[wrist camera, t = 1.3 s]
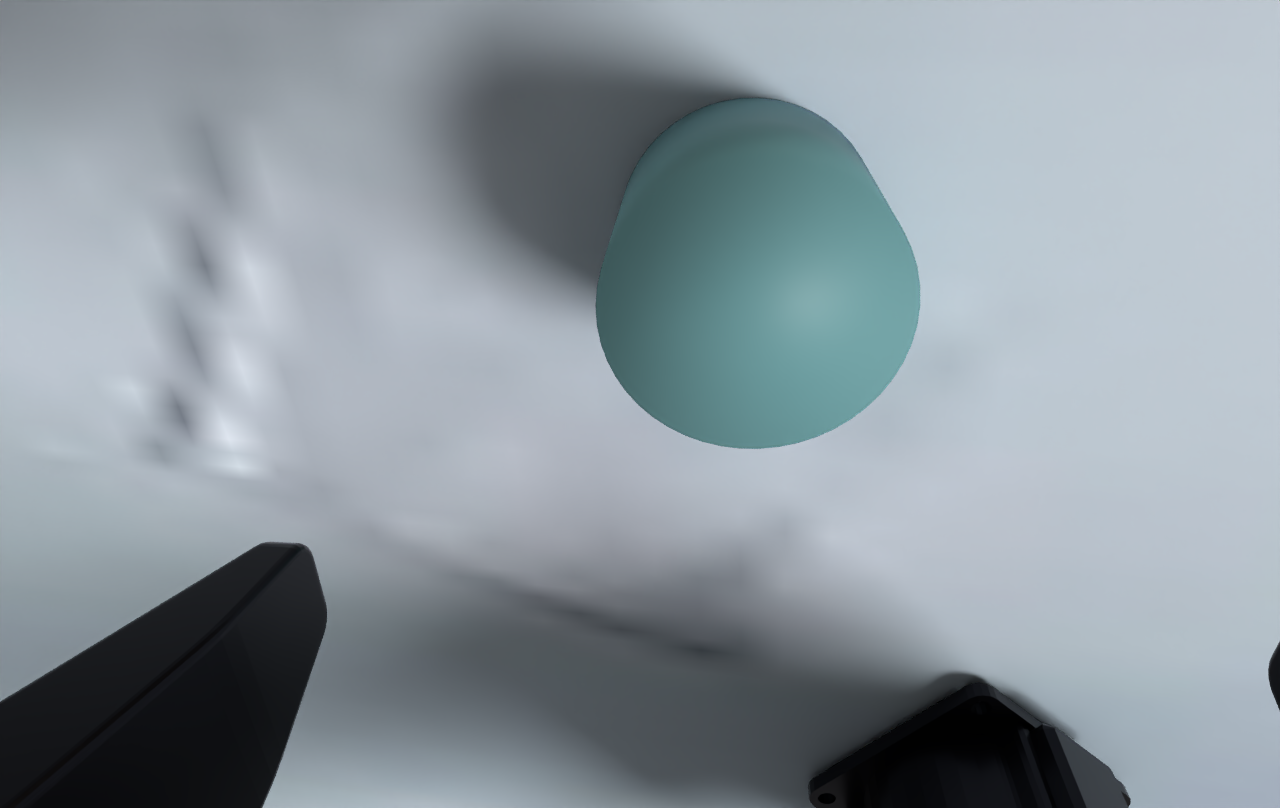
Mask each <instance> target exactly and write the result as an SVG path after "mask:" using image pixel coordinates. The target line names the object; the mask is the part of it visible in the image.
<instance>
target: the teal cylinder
mask: <svg viewBox="0 0 1280 808" xmlns="http://www.w3.org/2000/svg"><path fill="white" fill-rule="evenodd" d="M919 310H920V282H919V275H918V269H917V264H916V261H915V258H914V254H913V251H912V248H911V246H910V243H909V241H908V239H907V237H906V235H905V233H904V231H903V229H902V227H901V225H900V224H899V222H898V220H897V219H896V217H895V215H894V213H893V212H892V210H891V208H890V206H889V205H888V203H887V201H886V200H885V198H884V196H883V194H882V193H881V191H880V189H879V188H878V186H877V184H876V182H875V181H874V179H873V177H872V175H871V174H870V172H869V170H868V169H867V167H866V165H865V163H864V162H863V160H862V158H861V157H860V155H859V154H858V152H857V151H856V149H855V148H854V146H853V145H852V144H851V143H850V141H849V140H848V139H847V138H846V137H845V136H844V135H843V134H842V133H841V132H840V131H839V130H838V129H837V128H836V127H834V126H833V125H832V124H831V123H829V122H828V121H827V120H825V119H824V118H822V117H820V116H819V115H817V114H815V113H814V112H812V111H810V110H807V109H805V108H803V107H800V106H798V105H795V104H792V103H788V102H784V101H780V100H774V99H766V98H739V99H733V100H727V101H722V102H718V103H715V104H712V105H708V106H705V107H703V108H701V109H699V110H697V111H694V112H692V113H690V114H688V115H687V116H685V117H683V118H682V119H680V120H679V121H677V122H675V123H674V124H673V125H671V126H670V127H669V128H668V129H667V130H665V131H664V132H663V133H662V134H661V135H660V136H659V137H658V138H657V139H656V140H655V141H654V142H653V143H652V144H651V145H650V146H649V147H648V149H647V150H646V152H645V153H644V154H643V156H642V157H641V159H640V160H639V162H638V164H637V165H636V167H635V169H634V171H633V173H632V175H631V177H630V180H629V183H628V185H627V188H626V191H625V194H624V197H623V200H622V203H621V206H620V210H619V213H618V216H617V219H616V222H615V226H614V229H613V232H612V235H611V238H610V242H609V245H608V248H607V251H606V254H605V258H604V261H603V264H602V267H601V271H600V276H599V281H598V285H597V295H596V318H597V328H598V332H599V337H600V342H601V345H602V348H603V351H604V353H605V356H606V359H607V361H608V363H609V365H610V367H611V369H612V371H613V373H614V375H615V377H616V378H617V379H618V381H619V382H620V384H621V385H622V386H623V388H624V389H625V391H626V392H627V393H628V394H629V395H630V396H631V397H632V398H633V400H634V401H635V402H636V403H637V404H638V405H639V406H640V407H642V408H643V409H644V410H645V411H646V412H647V413H649V414H650V415H651V416H652V417H654V418H655V419H657V420H658V421H660V422H661V423H663V424H664V425H666V426H667V427H669V428H671V429H673V430H675V431H677V432H679V433H681V434H683V435H685V436H688V437H691V438H694V439H697V440H699V441H702V442H706V443H710V444H714V445H719V446H725V447H733V448H747V449H761V448H772V447H780V446H785V445H790V444H795V443H799V442H802V441H805V440H808V439H812V438H815V437H817V436H820V435H822V434H824V433H826V432H829V431H831V430H833V429H835V428H837V427H838V426H840V425H842V424H843V423H845V422H847V421H849V420H850V419H852V418H853V417H854V416H856V415H857V414H858V413H860V412H861V411H862V410H864V409H865V408H866V407H867V406H868V405H870V404H871V403H872V402H873V401H874V400H875V399H876V398H877V397H878V396H879V395H880V394H881V393H882V392H883V390H884V389H885V388H886V387H887V385H888V384H889V383H890V382H891V381H892V379H893V378H894V376H895V375H896V373H897V372H898V370H899V368H900V367H901V365H902V364H903V362H904V360H905V358H906V355H907V353H908V351H909V349H910V346H911V344H912V341H913V338H914V334H915V331H916V328H917V323H918V316H919Z"/></svg>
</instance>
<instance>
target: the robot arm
mask: <svg viewBox="0 0 1280 808" xmlns="http://www.w3.org/2000/svg"><path fill="white" fill-rule="evenodd" d="M326 623H327V608H326V602H325V599H324V595H323V591H322V588H321V584H320V580H319V576H318V573H317V569H316V565H315V562H314V558H313V555H312V553H311V551H310V550H309V548H308V547H307V546H305V545H303V544H300V543H283V542H265V543H261V544H259V545H257V546H255V547H254V548H252V549H250V550H249V551H247V552H245V553H244V554H242V555H241V556H239V557H237V558H236V559H234V560H232V561H231V562H229V563H227V564H226V565H224V566H223V567H221V568H219V569H218V570H216V571H214V572H213V573H211V574H209V575H208V576H206V577H204V578H203V579H201V580H200V581H198V582H196V583H195V584H193V585H191V586H190V587H188V588H186V589H185V590H183V591H181V592H180V593H178V594H177V595H175V596H173V597H172V598H170V599H168V600H167V601H165V602H163V603H162V604H160V605H158V606H157V607H155V608H154V609H152V610H150V611H149V612H147V613H145V614H144V615H142V616H140V617H139V618H137V619H135V620H134V621H132V622H131V623H129V624H127V625H126V626H124V627H122V628H121V629H119V630H117V631H116V632H114V633H112V634H111V635H109V636H108V637H106V638H104V639H103V640H101V641H99V642H98V643H96V644H94V645H93V646H91V647H90V648H88V649H86V650H85V651H83V652H81V653H80V654H78V655H76V656H75V657H73V658H71V659H70V660H68V661H67V662H65V663H63V664H62V665H60V666H58V667H57V668H55V669H53V670H52V671H50V672H48V673H47V674H45V675H44V676H42V677H40V678H39V679H37V680H35V681H34V682H32V683H30V684H29V685H27V686H25V687H24V688H22V689H20V690H19V691H17V692H16V693H14V694H12V695H11V696H9V697H7V698H6V699H4V700H2V701H1V702H0V808H262V807H263V804H264V802H265V800H266V797H267V795H268V793H269V791H270V788H271V786H272V784H273V781H274V779H275V776H276V773H277V770H278V768H279V765H280V762H281V760H282V757H283V754H284V751H285V748H286V745H287V742H288V739H289V736H290V733H291V730H292V727H293V724H294V721H295V718H296V716H297V713H298V710H299V707H300V704H301V701H302V698H303V695H304V692H305V689H306V686H307V683H308V680H309V677H310V674H311V671H312V668H313V665H314V662H315V659H316V656H317V653H318V650H319V647H320V644H321V641H322V638H323V635H324V632H325V628H326ZM1268 671H1269V682H1270V687H1271V690H1272V693H1273V695H1274V698H1275V700H1276V703H1277V705H1278V708H1279V710H1280V642H1279V644H1278V645H1277V647H1276V649H1275V651H1274V653H1273V655H1272V657H1271V659H1270V663H1269V669H1268ZM808 790H809V799H810V802H811V803H812V804H813V805H814V806H815V807H817V808H1128V807H1129V805H1130V798H1129V795H1128V793H1127V791H1126V789H1125V787H1124V785H1123V784H1122V783H1121V782H1120V781H1118V780H1117V779H1116V778H1115V777H1114V775H1113V773H1112V771H1111V769H1110V768H1109V767H1108V766H1107V765H1105V764H1104V763H1103V762H1101V761H1100V760H1099V759H1097V758H1096V757H1095V756H1093V755H1092V754H1091V753H1089V752H1088V751H1087V750H1085V749H1084V748H1083V747H1081V746H1080V745H1079V744H1077V743H1076V742H1075V741H1073V740H1072V739H1071V738H1069V737H1068V736H1067V735H1065V734H1064V733H1063V732H1061V731H1060V730H1058V729H1057V728H1056V727H1053V726H1050V725H1047V724H1044V723H1043V724H1042V723H1041V722H1039V721H1038V720H1037V719H1035V718H1034V717H1033V716H1031V715H1030V714H1029V713H1027V712H1026V711H1025V710H1023V709H1022V708H1021V707H1019V706H1018V705H1017V704H1015V703H1014V702H1013V701H1011V700H1010V699H1008V698H1007V697H1006V696H1004V695H1003V694H1002V693H1000V692H999V691H998V690H996V689H995V688H994V687H992V686H990V685H988V684H983V683H975V684H970V685H968V686H966V687H964V688H962V689H960V690H959V691H957V692H955V693H954V694H952V695H950V696H949V697H947V698H945V699H944V700H942V701H940V702H939V703H937V704H936V705H934V706H932V707H931V708H929V709H927V710H926V711H924V712H922V713H921V714H919V715H917V716H916V717H914V718H912V719H911V720H909V721H907V722H906V723H904V724H902V725H901V726H899V727H897V728H896V729H894V730H892V731H891V732H889V733H888V734H886V735H884V736H883V737H881V738H879V739H878V740H876V741H874V742H873V743H871V744H869V745H868V746H866V747H864V748H863V749H861V750H859V751H858V752H856V753H854V754H853V755H851V756H849V757H848V758H846V759H844V760H843V761H841V762H839V763H838V764H836V765H835V766H833V767H831V768H830V769H828V770H826V771H825V772H823V773H821V774H820V775H818V776H816V777H815V778H813V779H812V780H811V781H810V782H809V785H808Z"/></svg>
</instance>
